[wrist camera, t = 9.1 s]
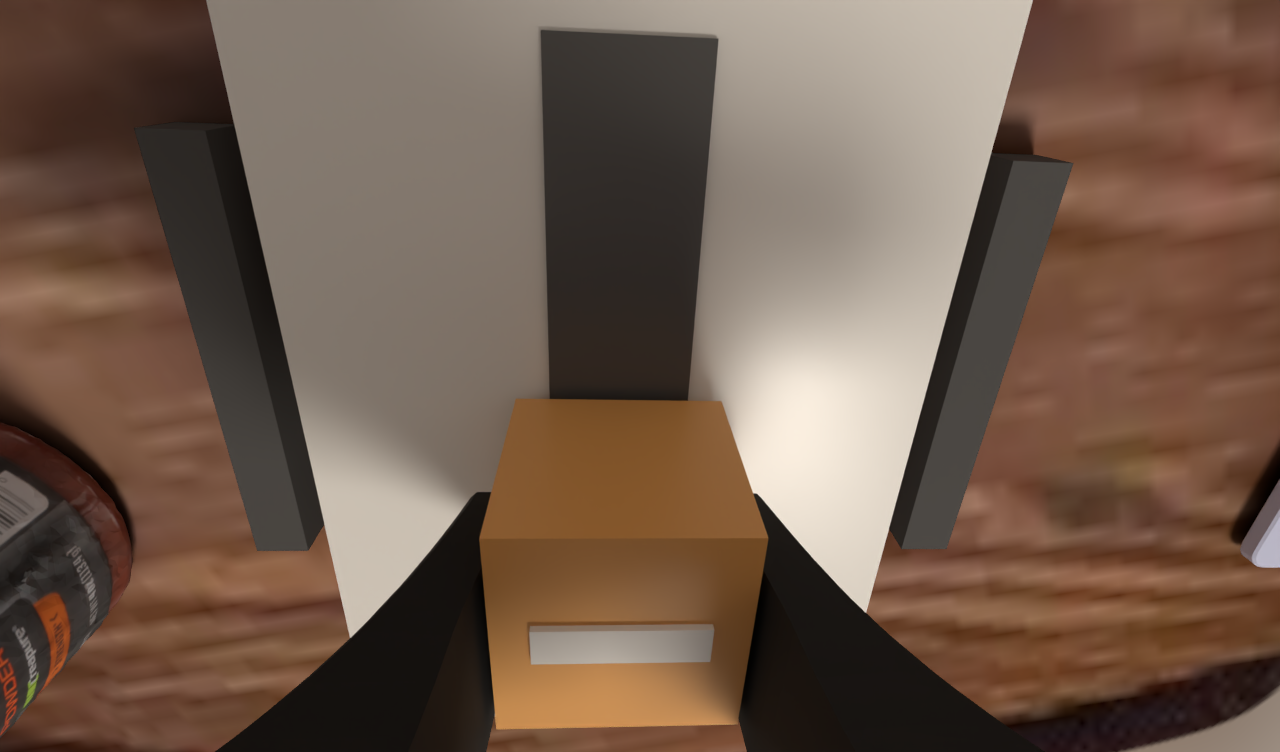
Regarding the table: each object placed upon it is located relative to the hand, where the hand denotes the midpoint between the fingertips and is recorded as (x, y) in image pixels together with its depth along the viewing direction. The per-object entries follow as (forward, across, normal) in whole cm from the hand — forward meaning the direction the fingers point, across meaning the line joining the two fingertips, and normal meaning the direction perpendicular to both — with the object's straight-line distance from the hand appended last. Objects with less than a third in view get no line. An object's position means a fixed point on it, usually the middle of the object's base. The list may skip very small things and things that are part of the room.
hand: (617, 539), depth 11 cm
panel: (+3, 0, -2) cm, 3 cm away
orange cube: (+1, 0, -1) cm, 1 cm away
